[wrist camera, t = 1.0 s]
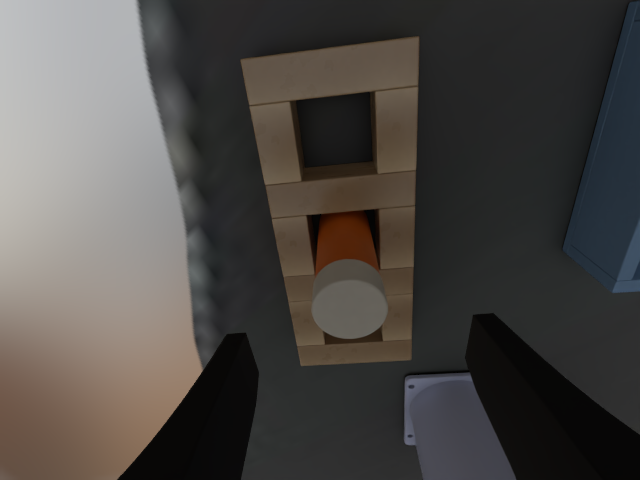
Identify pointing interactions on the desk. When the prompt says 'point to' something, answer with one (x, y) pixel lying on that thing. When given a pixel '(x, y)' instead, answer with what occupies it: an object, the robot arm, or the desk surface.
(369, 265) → the pill bottle
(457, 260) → the desk surface
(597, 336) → the desk surface
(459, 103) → the desk surface
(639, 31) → the bin
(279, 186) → the pen rack
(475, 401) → the robot arm
